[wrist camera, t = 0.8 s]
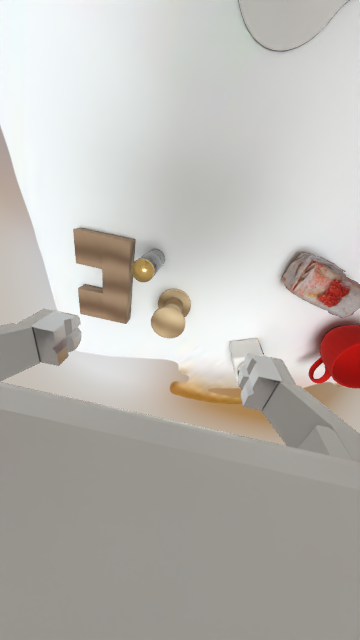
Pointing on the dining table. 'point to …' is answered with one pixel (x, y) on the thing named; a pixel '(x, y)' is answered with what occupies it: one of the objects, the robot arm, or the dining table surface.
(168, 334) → the tan spool
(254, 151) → the dining table surface
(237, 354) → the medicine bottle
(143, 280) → the gold lidded spice jar
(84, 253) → the notch board
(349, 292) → the food item
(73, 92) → the dining table surface
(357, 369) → the ceramic cup
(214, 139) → the dining table surface
